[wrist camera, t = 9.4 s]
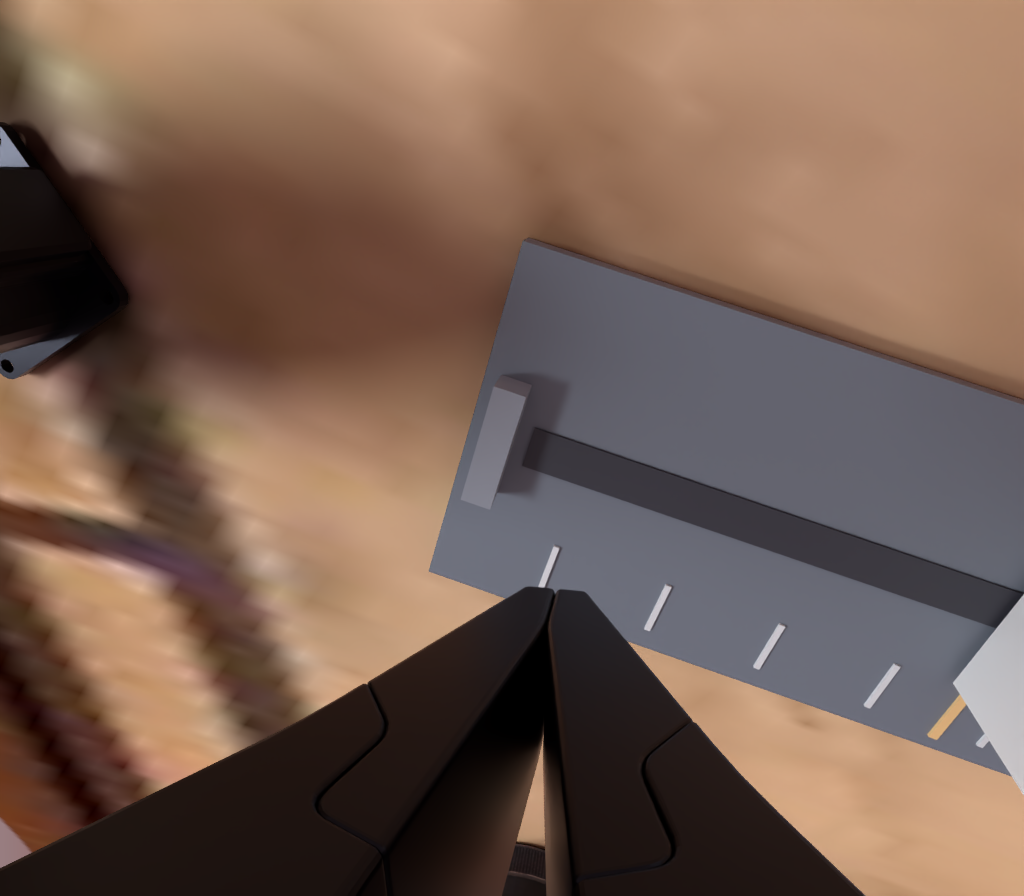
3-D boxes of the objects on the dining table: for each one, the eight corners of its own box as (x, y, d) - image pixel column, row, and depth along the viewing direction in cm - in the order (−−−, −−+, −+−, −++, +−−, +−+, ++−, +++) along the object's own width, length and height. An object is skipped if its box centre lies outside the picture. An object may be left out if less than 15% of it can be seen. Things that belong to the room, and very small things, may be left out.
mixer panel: (436, 556, 24) (418, 590, 22) (528, 237, 19) (515, 244, 17) (1059, 774, 23) (1099, 831, 21) (1329, 500, 18) (1415, 540, 16)
